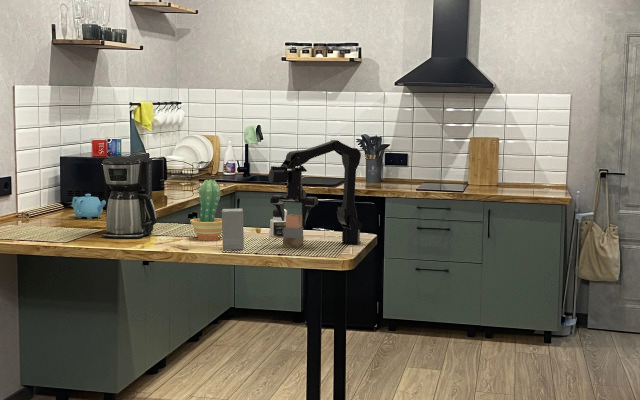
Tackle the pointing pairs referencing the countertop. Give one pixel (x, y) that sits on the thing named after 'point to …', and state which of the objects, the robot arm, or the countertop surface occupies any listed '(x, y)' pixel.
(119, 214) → the coffee maker
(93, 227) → the countertop surface
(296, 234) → the charcoal block
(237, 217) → the skincare box
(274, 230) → the medicine bottle
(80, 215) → the teapot
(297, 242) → the walnut block
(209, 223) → the potted cactus
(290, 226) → the terracotta cube
